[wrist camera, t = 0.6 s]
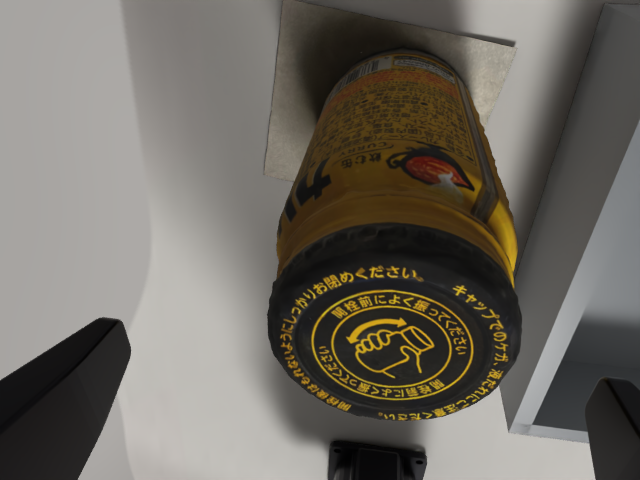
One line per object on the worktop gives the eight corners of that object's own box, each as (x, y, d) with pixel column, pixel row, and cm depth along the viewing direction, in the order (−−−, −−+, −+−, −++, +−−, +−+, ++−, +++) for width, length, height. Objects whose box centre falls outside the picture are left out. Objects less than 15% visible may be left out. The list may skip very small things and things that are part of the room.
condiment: (449, 214, 21) (487, 476, 12) (264, 173, 21) (148, 397, 12) (516, 46, 17) (669, 238, 7) (284, -5, 17) (128, 117, 7)
